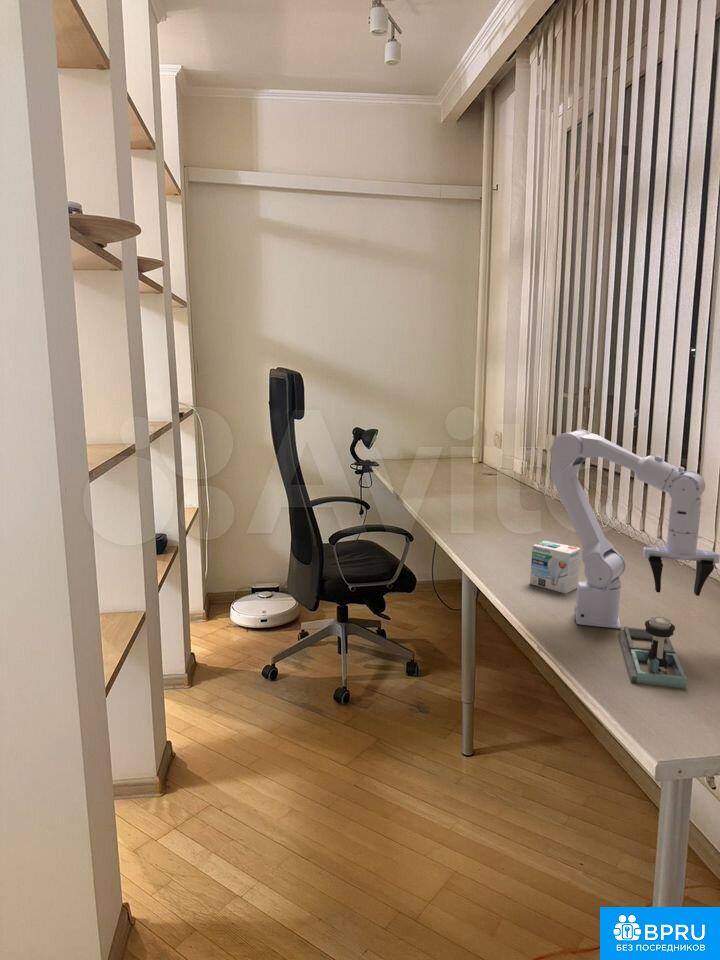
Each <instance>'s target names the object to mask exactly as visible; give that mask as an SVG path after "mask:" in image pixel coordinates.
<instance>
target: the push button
mask: <svg viewBox="0 0 720 960" xmlns="http://www.w3.org/2000/svg"><path fill="white" fill-rule="evenodd" d="M644 626H645V629H646V632H647V633H649V634H650V635H651V636H653V640H652V643H651V644H650V645H651V646H650V648H651V649H649V652H648V660H647V662H646V663H647V664H646V667H647V669H650V670H651V671H652V673H656V674H665V672H666V670H667V669H668V664H667V660H666V659H665V657H666V652H665V651H664V650H665V647H664V640H665V639H666V638H668V637H669V638H670V637H672V636H674V631H675V630H676V625H674V624H673V623H671V620H670V619H669V618H665V617H664V616H662V617H661V616H652V617H650V619H649V620H645V622H644Z"/></svg>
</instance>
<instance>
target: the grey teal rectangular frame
mask: <svg viewBox="0 0 720 960" xmlns="http://www.w3.org/2000/svg"><path fill="white" fill-rule="evenodd" d="M618 638H619V643H620V646H621V649H622V653H623V657H624V661H625V665H626V669H627V671H628V676H629V680H630V683H635V684H641V685H642V684H643V685H650V686H660V687H667V688H676V689H683V690H686V689H687V682H688V679H687V676H686V673H685V671H684V669H683V667H682V664H681V662H680V660H679V657H678V655H677V653H676V651H675V648H674V647H673V644H672V642H671V640H670V637H668V638H666V639H665V640H664V651H665V652H666V657H665V659H666V660H667V665H671V666H672V669H673V671H674V674H675V675H674V674H665V673H664V674H656V673H654V672H646V671H642V670H641V666H640V664H639V661H640V662H646V663H647V660H648V652H649V649H651V647H650V648H649V647H640V646H634V643H633V640H632V639H640V640H648V641H649V640H650V641H653V636H651V635H650V634H649V633H647V632H646V628H641V627H640V628H637V627H628V626H624V627H623V629H618Z"/></svg>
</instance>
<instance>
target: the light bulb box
mask: <svg viewBox="0 0 720 960" xmlns="http://www.w3.org/2000/svg"><path fill="white" fill-rule="evenodd" d="M531 551H532V552H531V563H530V574H529V575H530V579H529V584H530V585H534V586H537V587H541V588H543V589H544V588H545V589H547V590H548V589H549V590H552V591H555V592H559V593H562V594H566V595H567V594H568V593H570V592H572V591H574V590H577V584H578V582H579V575H580V563H581V555H582V553H581V552H582V549H581V548H580V547H577V546H572V545H567V544H564V543H563V544H562V543H558V542H553V541H549V540H543V541H540V542H537V543H536V544H535V543H534V544H533V545H532V550H531Z"/></svg>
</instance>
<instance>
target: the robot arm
mask: <svg viewBox="0 0 720 960" xmlns="http://www.w3.org/2000/svg"><path fill="white" fill-rule="evenodd" d="M549 452H550V455H551V463H550V464H551V465H550V478H551V480H552V482H553V485H554V487H555V489H556V491H557V493H558V496H559V498H560V500H561V502H562V504H563V507H564V509H565V510H566V513H567V516H568V518H569V520H570V522H571V525H572V527H573V530H574V531H575V533H576V535H577V538H578V540H579V541H580V544H581V547H582V551H581V552H582V553H581V561H582V562H583V565H584V576H585V578H586V580H585V581H578V584H577V588H576V596H575V597H576V598H575V604H574V609H573V610H574V615H575V622H576V625H581V626H589V627H590V626H592V627H598V628H599V627H600V628H601V627H602V628H609V629H610V628H611V629H617V630H622V625H621V621H620V617H619V613H620V612H619V611H620V600H621V590H622V589H621V588H622V582H621V580H620V577H621V575H623V573H625V571H626V561H625V558H624V557H623V555H621V554H620V553H619V552H618V551H617V550H616V549H615V546H614V544H613V543H612V542H610V541H609V539H607V538H606V536H605V535H604V533H603V530H602V527H601V526H600V523H599V521H598V519H597V517H596V515H595V513H594V510H593V509H592V508H593V507H592V506H591V504H590V502H589V500H588V497H587V495H586V493H585V491H584V488H583V486H582V484H581V482H580V480H579V477H578V472H579V470H580V469H581V466H582V464H583V462H584V461H585V460H586V459H589V458H598V457H599V458H602V459H604V460H607V461H609V462H611V463H614V464H616V465H619V466H620V467H623V468H626V469H628V470H631V471H633V472H634V474H635V475H636V478H637V480H638V481H641V482H643V483H645V484H647V485H649V486H651V487H653V488H656V489H657V490H660V491H661V492H663V493H668V495H669V497H670V498H671V503H670V508H669V516H668V525H667V527H668V528H667V538H666V546H644V547H643V550H642V556H643V559H647V560H648V562H649V565H650V568H651V571H652V575H653V579H654V590H655V592H656V593H661V589H662V587H661V586H662V585H661V584H662V573H663V567H664V564H663V560H662V559H668V560H669V559H670V560H679V561H680V560H681V561H691V562H692V561H693V562H695V561H696V565H695V566H696V567H695V579H694V587H693V593H694V596H697V597H700V595H701V592H702V589H703V586H704V584H705V582H706V580H707V579H708V578H709V576H710V575H711V574H712V573H713V571H714V569H715V564H720V553H719V552H718V551H709V550H703V549H699V548H698V538H699V528H700V527H699V526H700V520H701V519H700V517H701V505H702V504H701V503H702V502H701V496H702V495H703V493H704V492H705V489H706V482H705V480H704V478H703V476H701V475H700V474H699V473H697V472H696V471H694V470H687V471H685V470H686V468H685V467H683V466H678V467H677V466H675V465H673V464H671V463H668V462H667V461H664V460H663V459H664V457H662V456H660V455H655V456H653V455H647V456H645V457H641V456H639V455H638V454H636V453H634V452H631V450H628V449H626V448H624V447H622V446H620V445H618V444H617V443H614V442H613V441H611V440H608V439H606V438H605V437H602V436H600V435H599V434H597V433H590V432H589V431H588V430H585V429H576V430H574V431H571V432H563V433H560V434H559V435H558V436H557V437H556V438H555V439H554V440H553V443H552V445H551V447H550V449H549ZM697 548H698V549H697Z"/></svg>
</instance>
